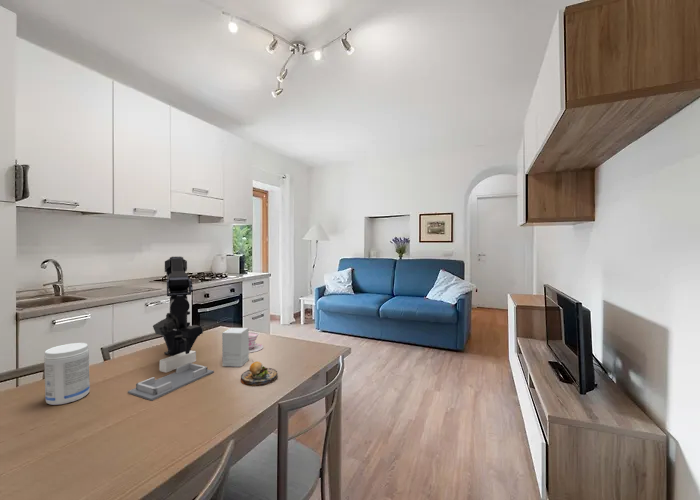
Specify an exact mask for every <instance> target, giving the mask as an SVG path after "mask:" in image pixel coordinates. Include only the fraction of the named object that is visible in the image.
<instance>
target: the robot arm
mask: <svg viewBox="0 0 700 500" xmlns="http://www.w3.org/2000/svg"><path fill="white" fill-rule="evenodd" d="M187 261H188V260H186V259H184V256H171V257H169V258H168V259H167V260H165V261H164V273H166V297H169V312H167V313H166V315H165V318H163V319H161V320H159V321H158V322H157V323H155V324H153V325H152V327H153V328H152V329H153V330H154V332H155V335H160V336H161V337H162V338H163V340H164V341H165V345H166V348H167V350H166V351H165V352H164V354H165V355H168V356H174V355H177V354H180V353H182V352H185V353H186V354H188V353H189V352H190V350H192V348H193V345H194V344H195V342H196V341H197V339H198V337H200V336H201V334H203V333H204V328H203V327H202V325H196V324H192V325H191V322H189V321H188V316H189V315H190V314H191V311H189V310H190V303H189V300H188V296H192V293H193V290H194V288H193V287H194V286H193V281H192V279H191V278H190V277H189V275H188V273H187V270H188V262H187Z"/></svg>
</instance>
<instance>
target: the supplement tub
mask: <svg viewBox="0 0 700 500" xmlns="http://www.w3.org/2000/svg"><path fill="white" fill-rule="evenodd" d="M43 358H44V359H43V361H44V365H43V366H44V388H45V390H44V391H45V392H44V393H45V397H44V398H45V402H46V404H48V405H53V406H55V405H56V406H58V405H65V404H69V403H71V402H76V401H79V400H81V399H82V398H84V397H86V396H87V395H88V394H89V393H90V390H91V388H90V351H89V345H88V343H86V342H73V343H66V344H62V345H57V346H53V347H50V348H48V349H46V350H45V351H44V357H43Z"/></svg>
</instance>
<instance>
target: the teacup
mask: <svg viewBox="0 0 700 500" xmlns="http://www.w3.org/2000/svg"><path fill="white" fill-rule="evenodd" d="M258 336H259V332H256V331H249V354H250V353H256V352H259V351H261V350H263V349H264V345H263V344H261V343H256V340H257V338H258Z"/></svg>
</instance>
